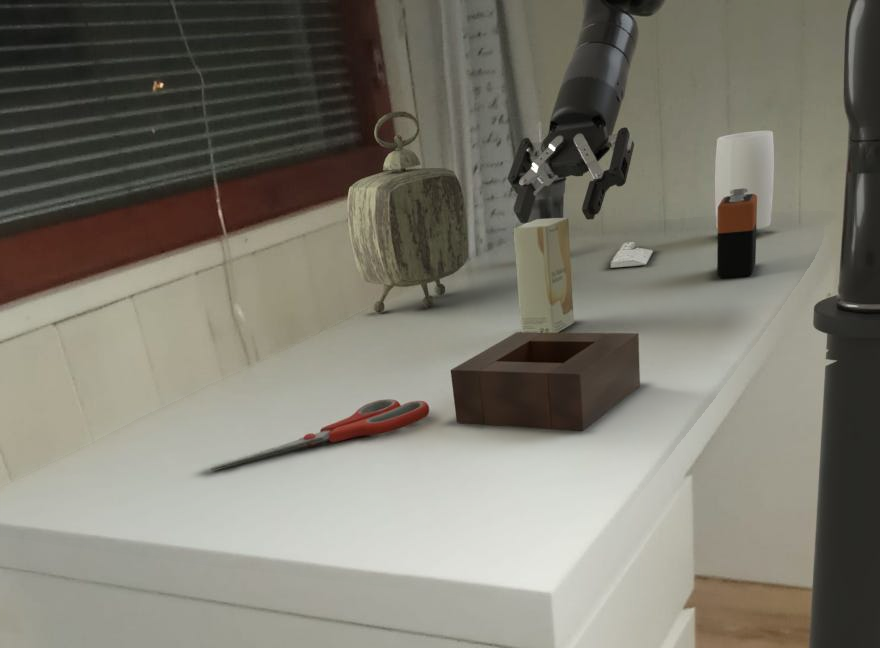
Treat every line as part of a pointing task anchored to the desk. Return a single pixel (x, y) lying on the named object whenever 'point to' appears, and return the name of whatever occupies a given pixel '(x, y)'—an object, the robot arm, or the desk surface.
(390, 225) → the tabletop clock
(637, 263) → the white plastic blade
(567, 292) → the cosmetic box
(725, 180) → the cup
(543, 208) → the beverage cup
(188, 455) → the desk surface
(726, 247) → the battery
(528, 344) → the holder
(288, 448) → the scissors
